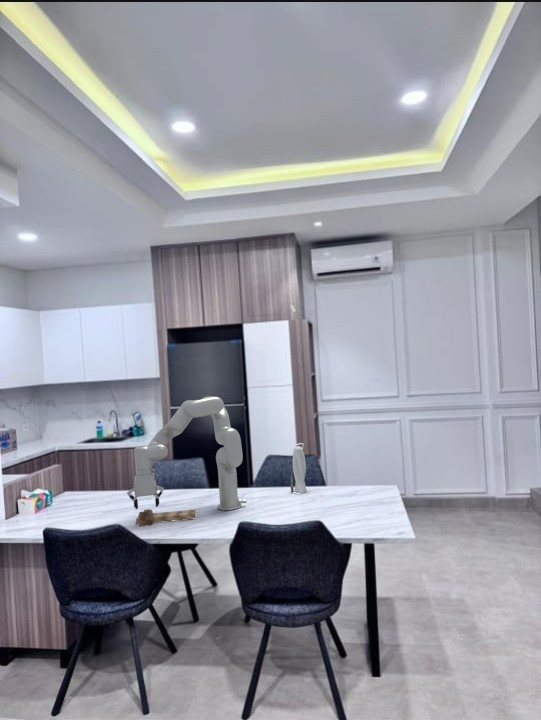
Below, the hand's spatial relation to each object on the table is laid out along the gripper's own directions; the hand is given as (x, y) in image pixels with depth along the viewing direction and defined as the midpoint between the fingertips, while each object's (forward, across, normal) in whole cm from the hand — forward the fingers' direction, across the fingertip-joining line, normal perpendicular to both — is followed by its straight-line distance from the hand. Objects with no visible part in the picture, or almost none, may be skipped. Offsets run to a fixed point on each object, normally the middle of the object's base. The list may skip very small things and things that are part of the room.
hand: (147, 507), depth 233 cm
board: (+8, -8, -6) cm, 13 cm away
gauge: (+8, +1, -3) cm, 9 cm away
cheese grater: (+12, -80, -38) cm, 89 cm away
